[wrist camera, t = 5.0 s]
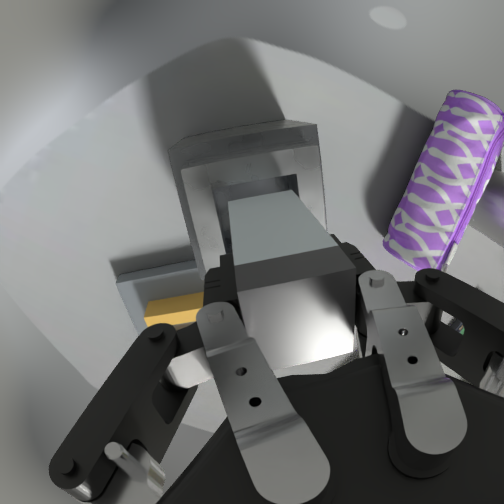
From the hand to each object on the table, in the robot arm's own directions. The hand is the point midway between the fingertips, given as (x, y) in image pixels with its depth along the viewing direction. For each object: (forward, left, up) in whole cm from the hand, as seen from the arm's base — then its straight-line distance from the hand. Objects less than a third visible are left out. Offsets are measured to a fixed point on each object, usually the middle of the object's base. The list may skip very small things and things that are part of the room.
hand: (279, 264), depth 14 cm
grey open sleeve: (0, 0, -19) cm, 19 cm away
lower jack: (+9, +15, -19) cm, 26 cm away
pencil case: (-22, +3, -19) cm, 29 cm away
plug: (0, 0, -5) cm, 5 cm away
